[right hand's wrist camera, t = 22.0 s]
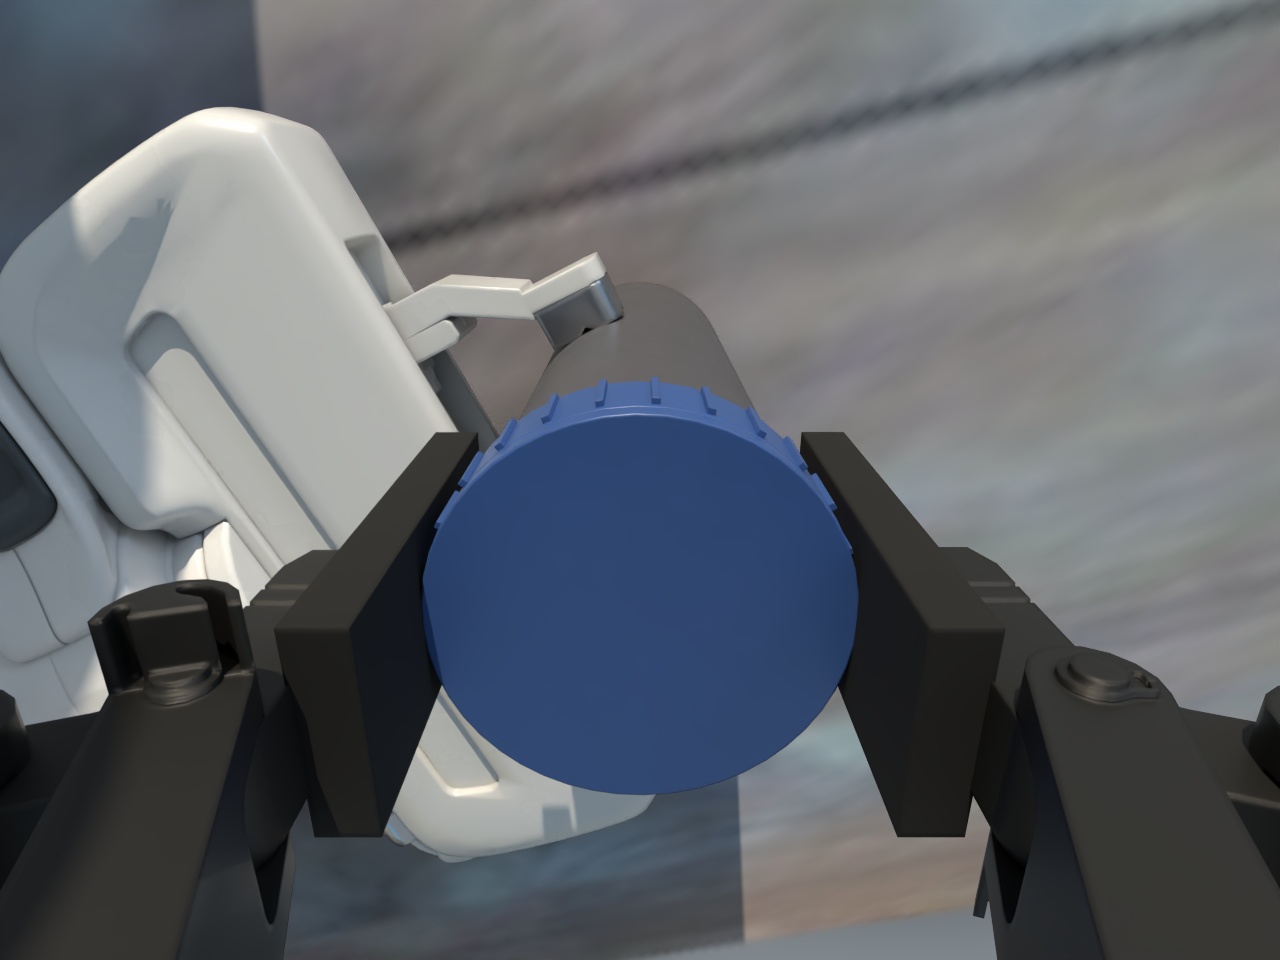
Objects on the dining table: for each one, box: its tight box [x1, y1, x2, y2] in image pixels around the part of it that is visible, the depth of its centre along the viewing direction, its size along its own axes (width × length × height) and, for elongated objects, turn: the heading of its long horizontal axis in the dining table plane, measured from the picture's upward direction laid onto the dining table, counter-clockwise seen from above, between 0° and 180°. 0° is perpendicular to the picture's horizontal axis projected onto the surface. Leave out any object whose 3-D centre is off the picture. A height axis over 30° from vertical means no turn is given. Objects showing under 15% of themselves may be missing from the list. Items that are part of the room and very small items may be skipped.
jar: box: [519, 283, 760, 420], centre depth 18 cm, size 5×5×15 cm
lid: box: [421, 377, 859, 795], centre depth 11 cm, size 6×6×2 cm
